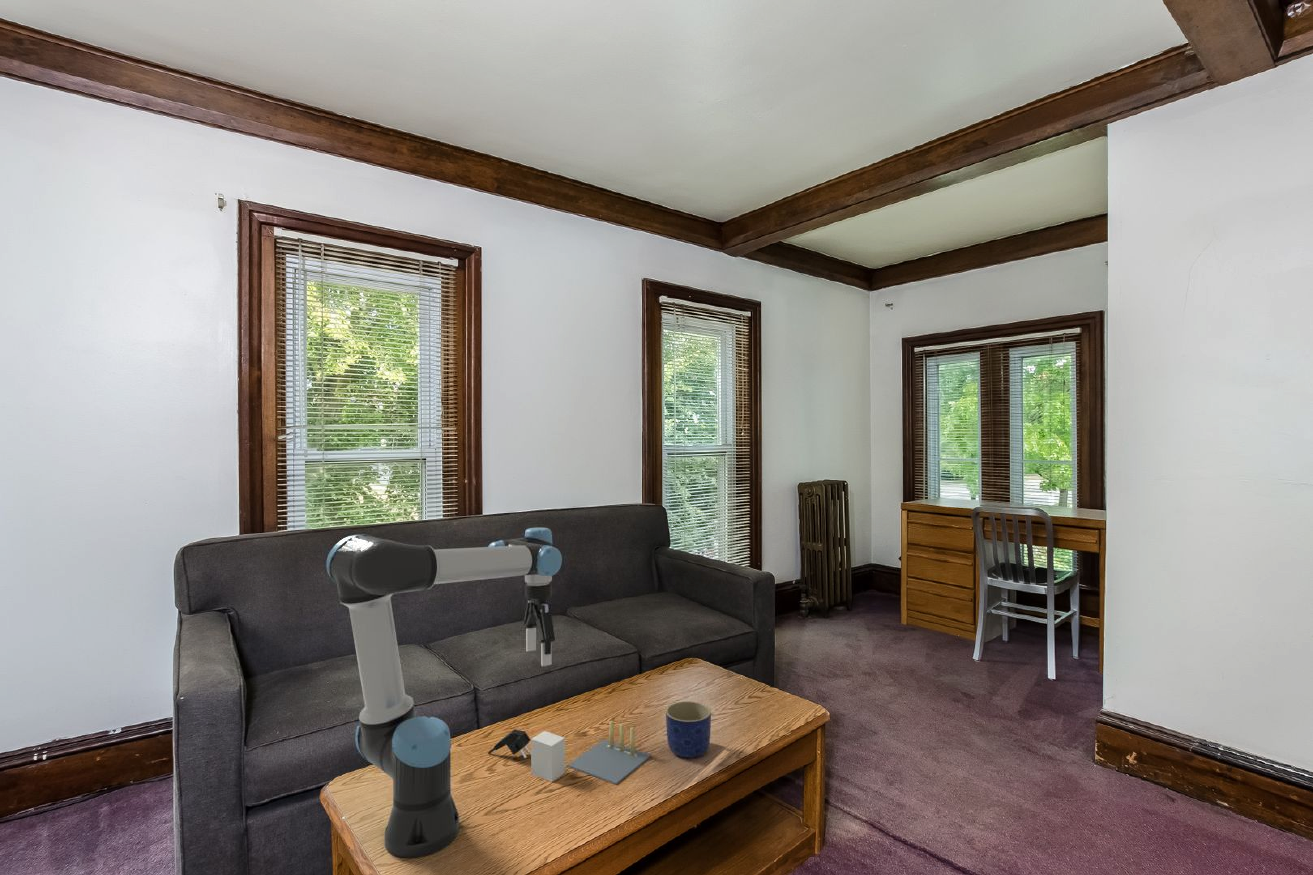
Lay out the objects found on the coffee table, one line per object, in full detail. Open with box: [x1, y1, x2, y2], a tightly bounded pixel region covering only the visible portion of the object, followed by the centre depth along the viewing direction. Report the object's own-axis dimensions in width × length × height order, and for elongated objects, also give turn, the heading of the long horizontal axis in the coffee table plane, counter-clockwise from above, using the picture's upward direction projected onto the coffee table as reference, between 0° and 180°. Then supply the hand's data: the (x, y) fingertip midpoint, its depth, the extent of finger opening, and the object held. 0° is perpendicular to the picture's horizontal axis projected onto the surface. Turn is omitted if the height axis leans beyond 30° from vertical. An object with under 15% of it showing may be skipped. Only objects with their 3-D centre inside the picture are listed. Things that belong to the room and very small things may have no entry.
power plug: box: [487, 728, 532, 759], centre depth 166 cm, size 6×8×12 cm
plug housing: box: [530, 730, 566, 783], centre depth 157 cm, size 5×7×9 cm
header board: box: [566, 720, 652, 785], centre depth 163 cm, size 16×16×7 cm
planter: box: [665, 700, 712, 759], centre depth 168 cm, size 12×12×11 cm
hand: (538, 657), depth 174 cm, fingers open, 13 cm apart
